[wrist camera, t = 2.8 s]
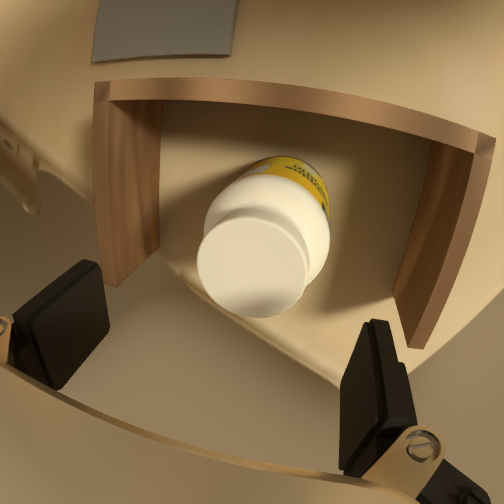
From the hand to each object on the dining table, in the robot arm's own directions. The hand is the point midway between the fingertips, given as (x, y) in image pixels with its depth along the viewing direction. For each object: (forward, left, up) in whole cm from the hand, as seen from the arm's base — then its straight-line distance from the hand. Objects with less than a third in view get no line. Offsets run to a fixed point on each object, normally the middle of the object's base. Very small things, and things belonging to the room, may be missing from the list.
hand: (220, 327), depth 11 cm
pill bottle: (0, 0, -15) cm, 15 cm away
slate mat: (+11, -15, -15) cm, 24 cm away
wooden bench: (0, 0, -15) cm, 15 cm away
